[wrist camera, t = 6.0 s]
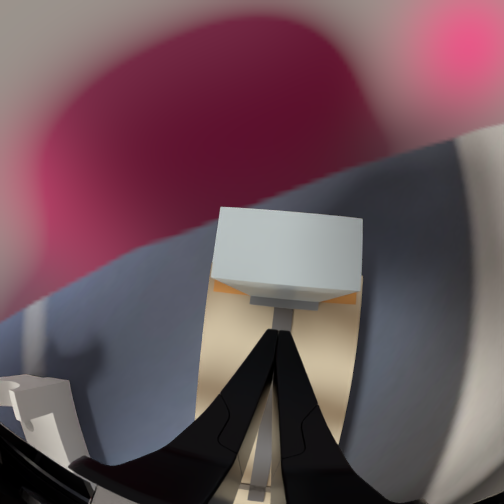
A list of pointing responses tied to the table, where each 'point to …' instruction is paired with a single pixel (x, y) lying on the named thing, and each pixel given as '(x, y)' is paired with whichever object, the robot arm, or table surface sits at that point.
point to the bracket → (46, 416)
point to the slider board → (312, 355)
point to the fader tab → (288, 256)
